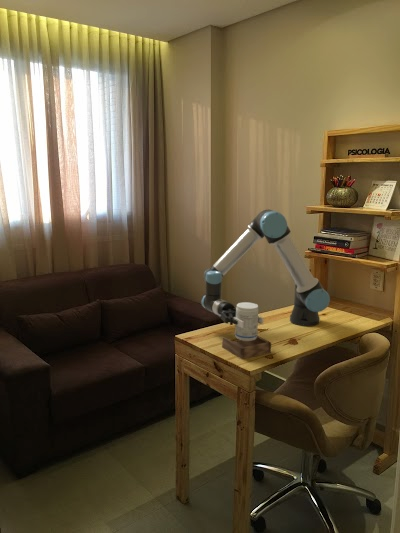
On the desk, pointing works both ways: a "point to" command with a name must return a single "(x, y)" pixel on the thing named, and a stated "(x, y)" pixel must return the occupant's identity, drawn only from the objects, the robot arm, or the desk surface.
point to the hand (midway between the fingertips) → (252, 323)
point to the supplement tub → (247, 321)
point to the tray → (247, 347)
